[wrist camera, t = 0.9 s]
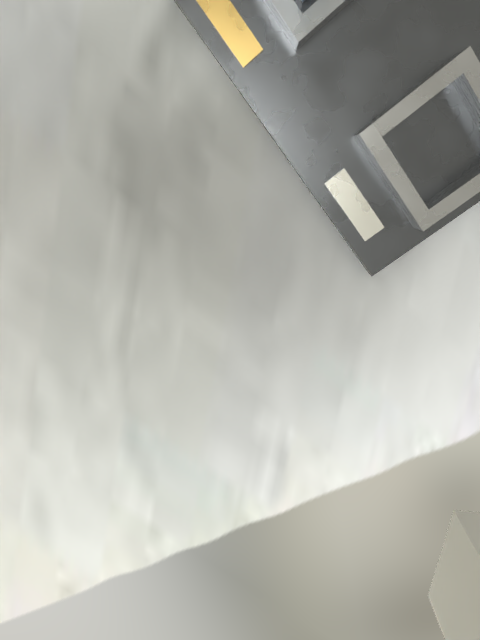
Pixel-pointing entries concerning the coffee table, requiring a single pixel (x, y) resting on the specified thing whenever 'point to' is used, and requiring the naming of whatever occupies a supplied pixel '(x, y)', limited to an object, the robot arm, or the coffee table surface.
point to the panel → (362, 105)
